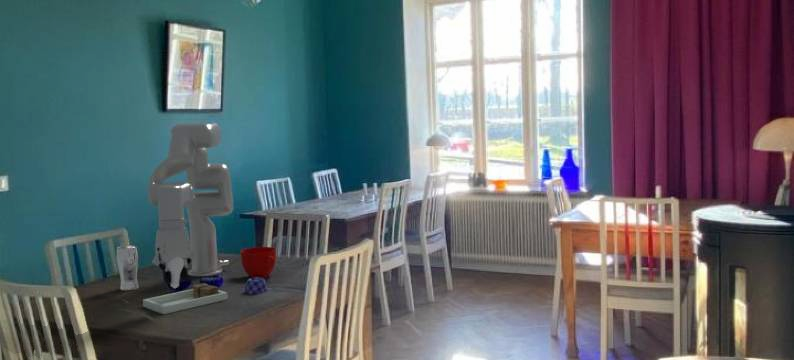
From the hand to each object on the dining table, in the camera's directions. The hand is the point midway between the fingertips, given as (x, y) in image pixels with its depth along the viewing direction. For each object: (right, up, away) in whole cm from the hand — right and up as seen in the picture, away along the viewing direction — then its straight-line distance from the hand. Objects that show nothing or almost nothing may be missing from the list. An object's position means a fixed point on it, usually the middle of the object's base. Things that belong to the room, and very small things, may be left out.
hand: (175, 281), depth 225 cm
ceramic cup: (+20, -4, +39) cm, 44 cm away
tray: (+2, -8, +3) cm, 9 cm away
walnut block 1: (+6, -7, +10) cm, 13 cm away
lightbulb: (0, -2, 0) cm, 2 cm away
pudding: (+23, -7, +15) cm, 28 cm away
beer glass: (-25, -7, +29) cm, 39 cm away
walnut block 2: (+9, -7, +6) cm, 13 cm away
